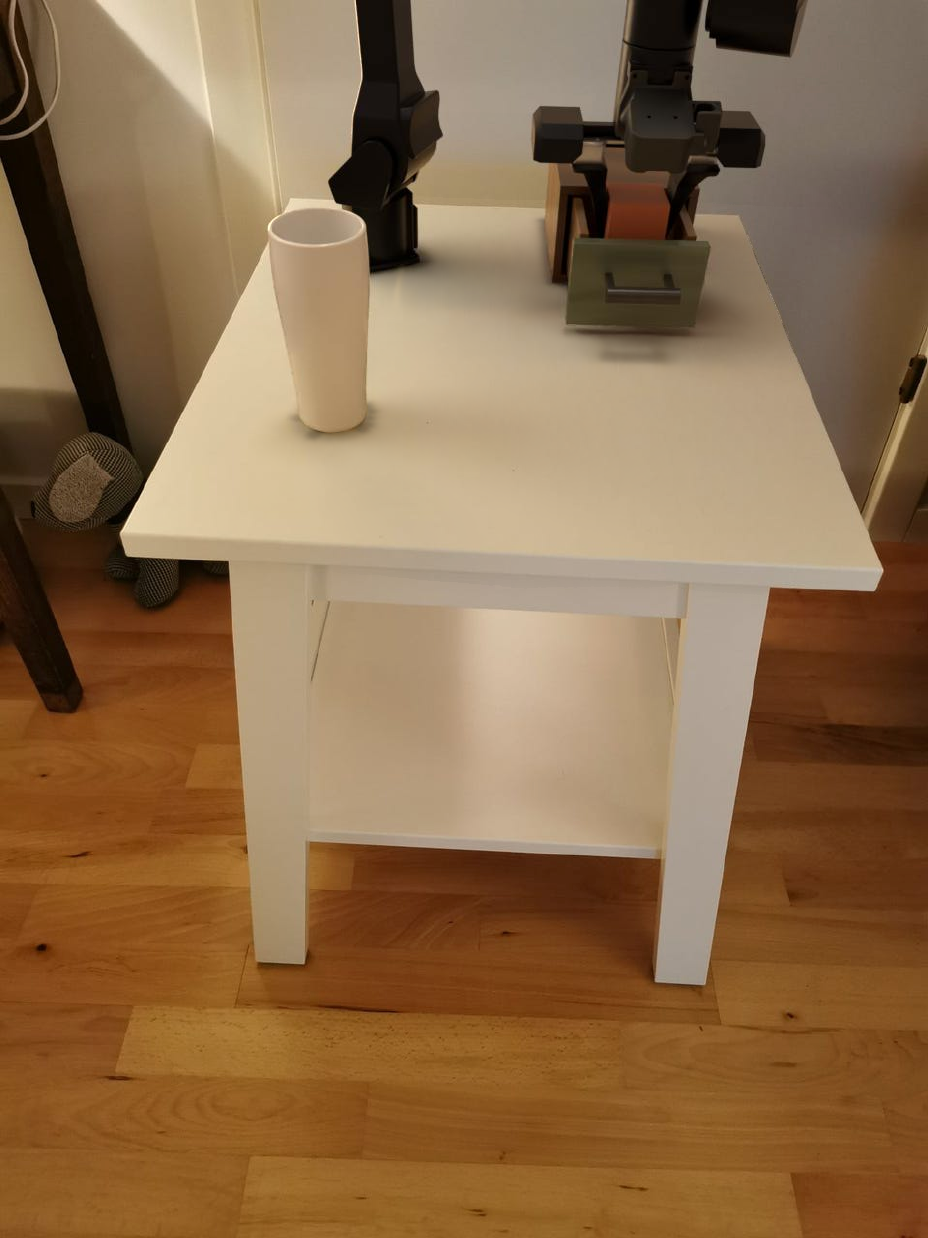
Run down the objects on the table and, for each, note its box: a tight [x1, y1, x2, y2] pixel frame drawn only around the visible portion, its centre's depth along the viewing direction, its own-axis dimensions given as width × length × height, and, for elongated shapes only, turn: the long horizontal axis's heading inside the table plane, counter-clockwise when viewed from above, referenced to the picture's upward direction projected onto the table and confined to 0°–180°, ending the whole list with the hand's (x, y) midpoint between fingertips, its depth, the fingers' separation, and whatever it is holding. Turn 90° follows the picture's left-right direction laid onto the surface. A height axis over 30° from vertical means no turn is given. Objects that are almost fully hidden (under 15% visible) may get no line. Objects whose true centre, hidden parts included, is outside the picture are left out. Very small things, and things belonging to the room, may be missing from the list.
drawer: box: [564, 195, 712, 329], centre depth 86 cm, size 18×11×7 cm, turn 179°
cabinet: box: [544, 148, 701, 284], centre depth 96 cm, size 15×13×9 cm
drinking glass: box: [267, 206, 371, 433], centre depth 71 cm, size 7×7×15 cm
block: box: [604, 182, 670, 240], centre depth 85 cm, size 5×5×5 cm
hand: (630, 238), depth 86 cm, fingers closed on block, 5 cm apart
